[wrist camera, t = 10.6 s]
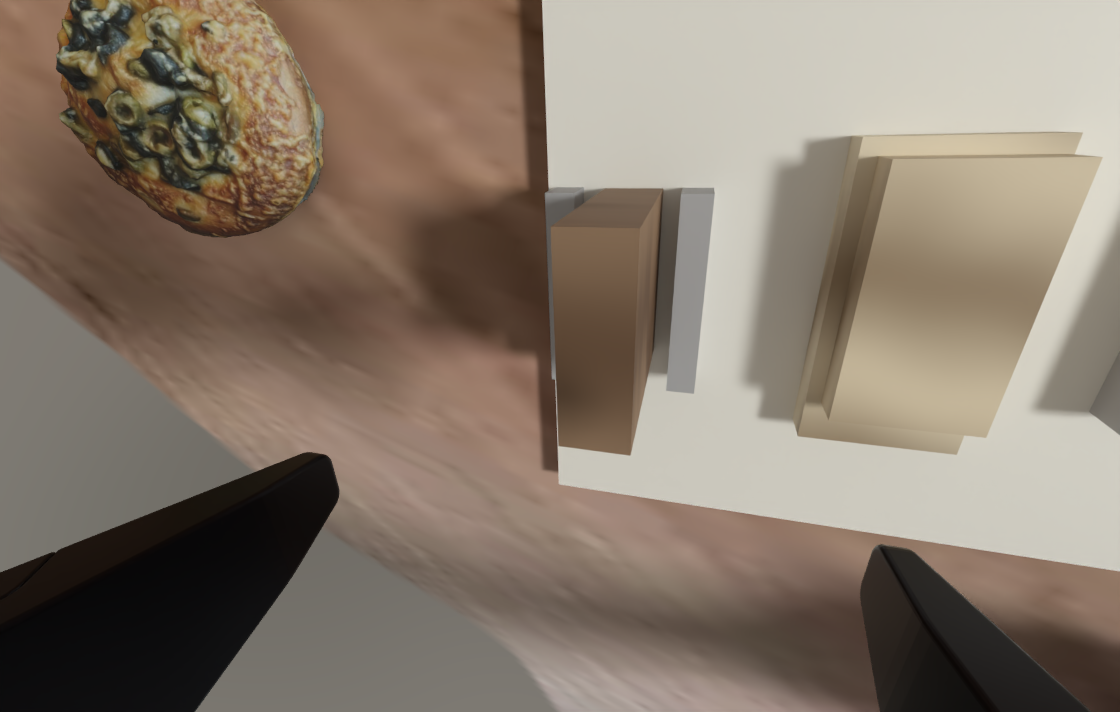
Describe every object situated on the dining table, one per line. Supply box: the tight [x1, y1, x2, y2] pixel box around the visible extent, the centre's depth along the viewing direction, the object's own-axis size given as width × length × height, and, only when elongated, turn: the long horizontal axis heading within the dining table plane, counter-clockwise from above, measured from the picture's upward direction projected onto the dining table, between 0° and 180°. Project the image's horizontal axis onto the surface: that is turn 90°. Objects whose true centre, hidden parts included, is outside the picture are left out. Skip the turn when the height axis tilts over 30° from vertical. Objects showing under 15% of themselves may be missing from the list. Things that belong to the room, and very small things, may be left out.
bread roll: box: [56, 0, 324, 238], centre depth 19 cm, size 11×11×5 cm
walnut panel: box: [551, 188, 663, 456], centre depth 15 cm, size 6×2×7 cm, turn 1°
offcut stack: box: [793, 132, 1103, 455], centre depth 15 cm, size 10×5×2 cm, turn 1°
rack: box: [542, 0, 1120, 571], centre depth 16 cm, size 20×24×2 cm
